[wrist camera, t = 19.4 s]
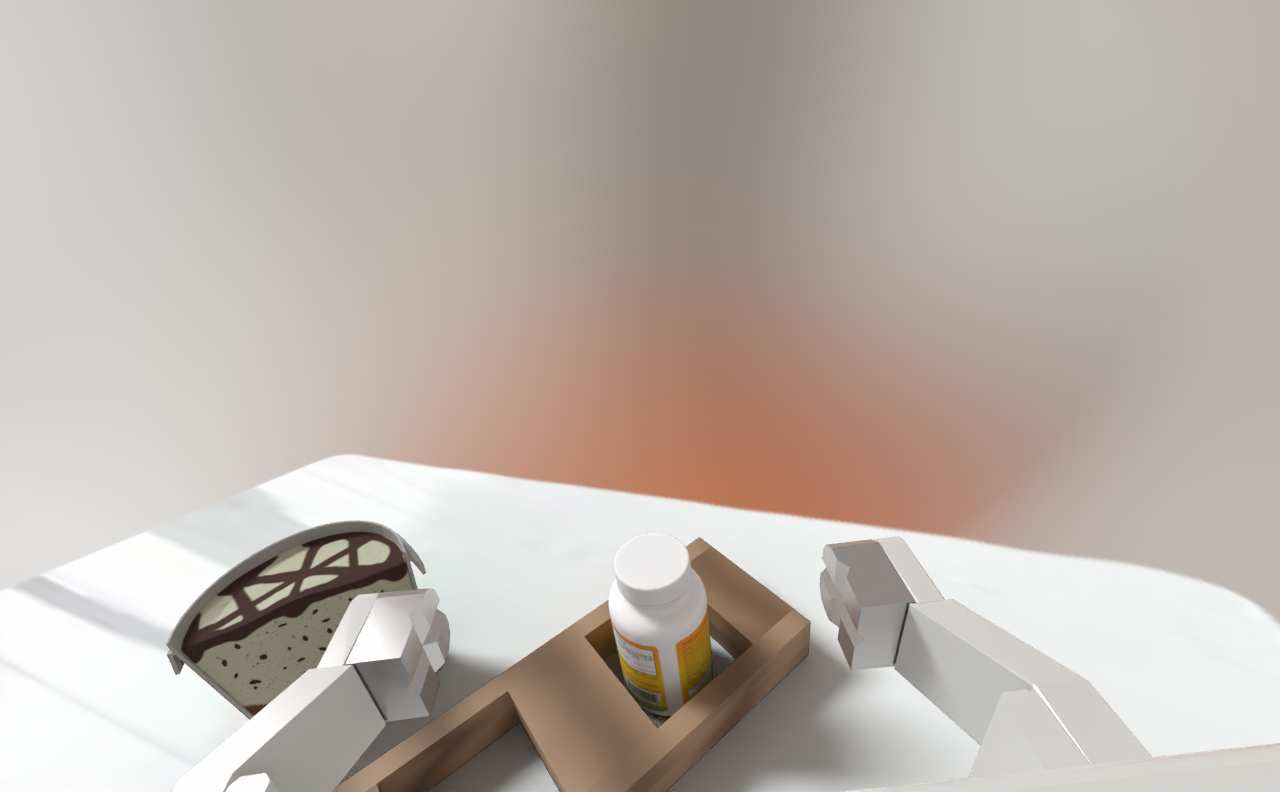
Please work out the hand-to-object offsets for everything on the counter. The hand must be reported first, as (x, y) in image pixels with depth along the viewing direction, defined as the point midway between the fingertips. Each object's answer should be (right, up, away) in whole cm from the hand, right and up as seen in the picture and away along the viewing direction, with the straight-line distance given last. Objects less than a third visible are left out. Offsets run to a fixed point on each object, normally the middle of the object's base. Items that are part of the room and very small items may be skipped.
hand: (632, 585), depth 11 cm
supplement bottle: (+2, -13, +21) cm, 25 cm away
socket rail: (-3, -15, +18) cm, 24 cm away
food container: (-18, -14, +24) cm, 33 cm away
